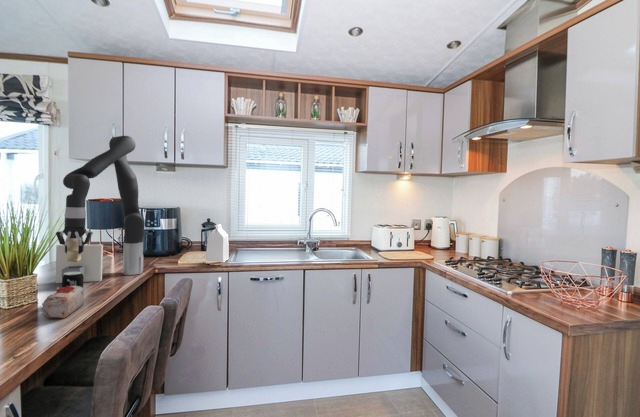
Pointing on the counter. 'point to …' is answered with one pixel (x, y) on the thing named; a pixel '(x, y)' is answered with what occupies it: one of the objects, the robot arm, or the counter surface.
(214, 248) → the milk
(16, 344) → the counter surface
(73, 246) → the rail post
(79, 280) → the beverage can
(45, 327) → the counter surface
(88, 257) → the white upright panel
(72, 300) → the food item
